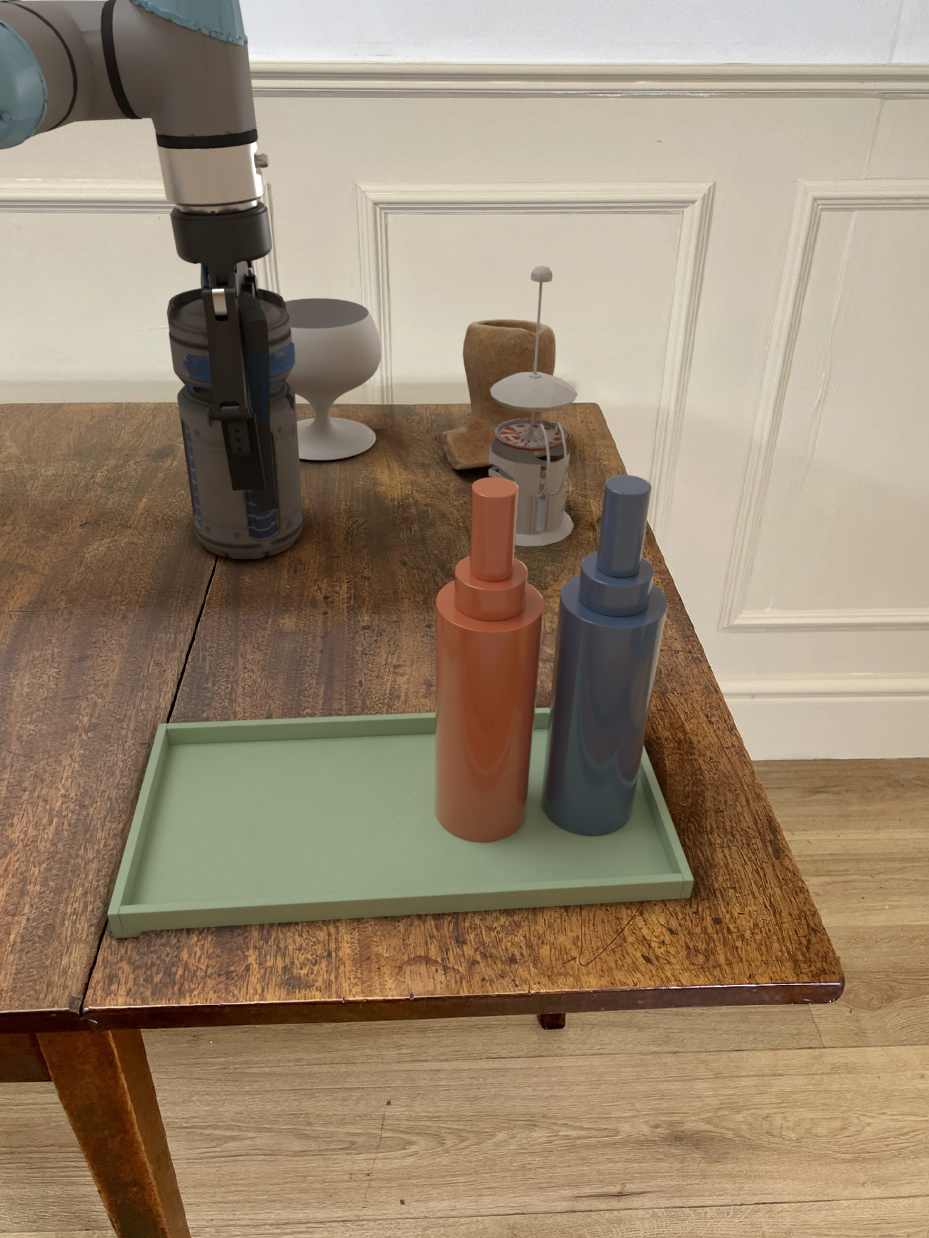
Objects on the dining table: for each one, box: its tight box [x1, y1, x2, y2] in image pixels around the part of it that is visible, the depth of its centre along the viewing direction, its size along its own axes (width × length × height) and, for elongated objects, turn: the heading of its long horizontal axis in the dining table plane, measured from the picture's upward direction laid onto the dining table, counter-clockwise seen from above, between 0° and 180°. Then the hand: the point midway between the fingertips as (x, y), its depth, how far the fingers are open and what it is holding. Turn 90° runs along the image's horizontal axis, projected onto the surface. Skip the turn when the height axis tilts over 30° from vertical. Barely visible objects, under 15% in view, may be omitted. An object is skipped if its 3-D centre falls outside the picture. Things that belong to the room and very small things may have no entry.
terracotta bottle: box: [434, 476, 545, 842], centre depth 55 cm, size 6×6×23 cm
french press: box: [488, 265, 579, 547], centre depth 87 cm, size 10×12×25 cm
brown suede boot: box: [439, 318, 568, 471], centre depth 105 cm, size 15×12×15 cm
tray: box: [106, 707, 695, 939], centre depth 60 cm, size 33×16×2 cm, turn 95°
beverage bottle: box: [166, 264, 304, 560], centre depth 83 cm, size 10×13×25 cm
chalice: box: [284, 297, 382, 461], centre depth 107 cm, size 14×14×15 cm
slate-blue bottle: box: [541, 474, 668, 836], centre depth 55 cm, size 6×6×23 cm
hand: (256, 455), depth 85 cm, fingers open, 13 cm apart
